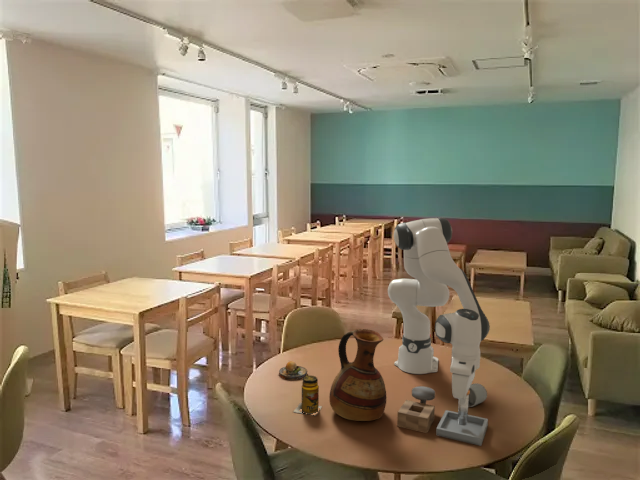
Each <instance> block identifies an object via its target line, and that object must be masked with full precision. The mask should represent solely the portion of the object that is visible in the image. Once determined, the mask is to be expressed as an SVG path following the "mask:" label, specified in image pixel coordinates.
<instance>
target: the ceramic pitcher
mask: <svg viewBox="0 0 640 480" xmlns="http://www.w3.org/2000/svg"><path fill="white" fill-rule="evenodd" d="M351 336H352V337H353V338H354V339H355V341H356V343H357V344H356V345H357V351H356V355H355V358H354V360H353V361H352V362H350V361H349V360H348V354H347V343H348V341H349V339H350V337H351ZM383 341H384V338H383V336H382V335H381V334H380V333H379V332H377V331H375V330H372V329H368V328H367V329H366V328H363V329H362V328H358V329H357V328H356V329H355V330H352V331H349V332H345V334H343V336H342V337H341V339H340V341H339V344H338V348H337V349H338V356H339V361H340V367H341V368H340V370H339V371H338V373H337V375H336V376H335V378H334V380H333V382H332V383H331V386H330V390H329V396H328V397H329V400H328V401H329V405H330V407H331V408H332V410H333V412H334V413H335V414H336V415H338V416H340V417H342V418H344V419H347V420H349V421H358V422H359V421H361V422H365V421H367V422H368V421H374V420H378V419H380V418H382V416H383V414H384V413H385V409H386V406H387V398H388V397H387V389H386V384H385V381H384V378H383V376H382V374H381V372H380V370H378V369H377V368H376V367H375V365H374V358H375V352H376V348H377V347H378V345H379V344H380V343H382V342H383Z"/></svg>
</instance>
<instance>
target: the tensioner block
mask: <svg viewBox="0 0 640 480" xmlns="http://www.w3.org/2000/svg"><path fill="white" fill-rule="evenodd" d="M411 396H412V398H414V399H415V400H418V401H419V402H417V401H413V400H408V399H406V400H405V401H404V402H403V404H402V405H401V407H400V408H399V409H398V411H397V417H396V419H397V421H396V424H397V425H396V426H397V427H400V428H403V429H408V430H410V431H412V430H413V431H416V432H421V433H425V434H427V433H428V432H429V431H430V428H431V426H432V425H433V423H434V421H435V410H436V409H435V405H433V404H432V405H431V404H428V403H427V401H433V400H434V399H435V398H436V391H435V389H433V388H431V387H429V386H423V385H422V386H421V385H420V386H415V387H413V388H412V389H411Z"/></svg>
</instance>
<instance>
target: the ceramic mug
mask: <svg viewBox="0 0 640 480" xmlns="http://www.w3.org/2000/svg"><path fill="white" fill-rule="evenodd" d="M469 390H470V394H469V398H468V408H472V407H475V406H477V405H479V404H481V403H484V402H485V401H486V400H487V398H488V392H487V391H488V390H487V389H486V388H485V386H484V385H482V384H480V383H479V382H478V383H477V382H476V383H472V384H471V386H470V388H469Z"/></svg>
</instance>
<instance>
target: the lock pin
mask: <svg viewBox="0 0 640 480" xmlns="http://www.w3.org/2000/svg"><path fill="white" fill-rule="evenodd" d="M469 394H470V390H468V393H467V395H466V397H465V398H466V402H465V404H464V405H462V404H459V403H458V408H457V409H458V410H457V411H458V412H457V413H458V424H459V425H463V426H464V425H467V418H468V415H469V414H468V412H469V407H468V398H469Z"/></svg>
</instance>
